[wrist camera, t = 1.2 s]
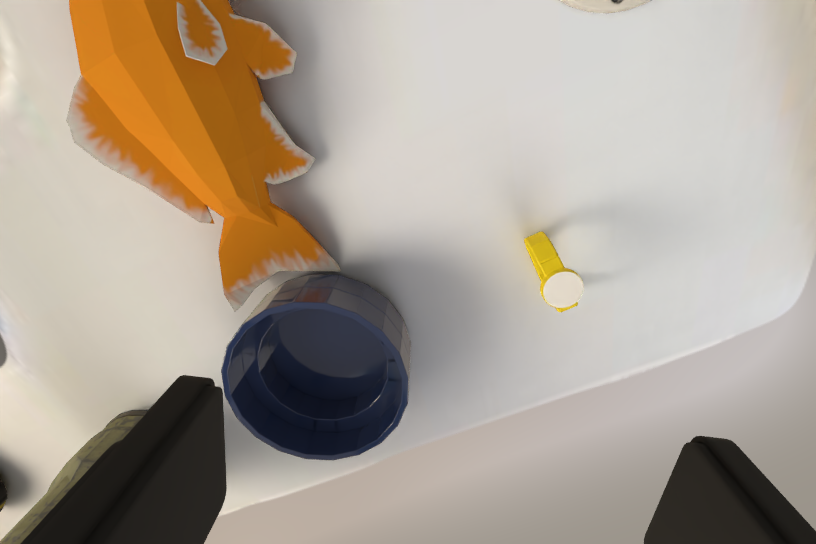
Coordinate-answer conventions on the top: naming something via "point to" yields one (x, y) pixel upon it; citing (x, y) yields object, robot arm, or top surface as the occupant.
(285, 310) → the navy bowl
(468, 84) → the top surface
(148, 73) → the fish
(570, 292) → the watch
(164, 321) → the top surface
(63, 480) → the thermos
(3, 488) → the tape measure
